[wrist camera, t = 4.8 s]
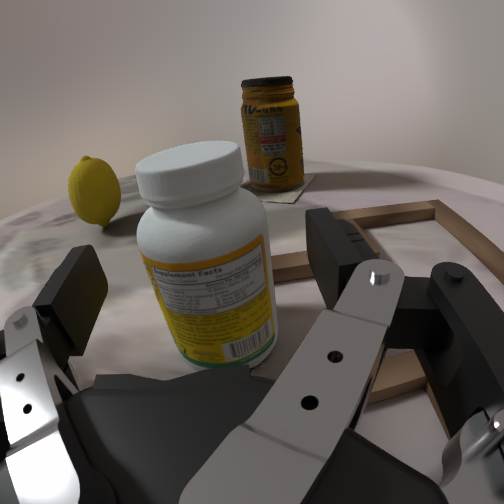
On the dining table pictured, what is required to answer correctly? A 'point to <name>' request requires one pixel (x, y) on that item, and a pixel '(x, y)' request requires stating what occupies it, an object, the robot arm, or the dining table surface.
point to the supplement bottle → (208, 254)
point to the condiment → (273, 140)
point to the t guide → (297, 265)
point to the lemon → (94, 191)
